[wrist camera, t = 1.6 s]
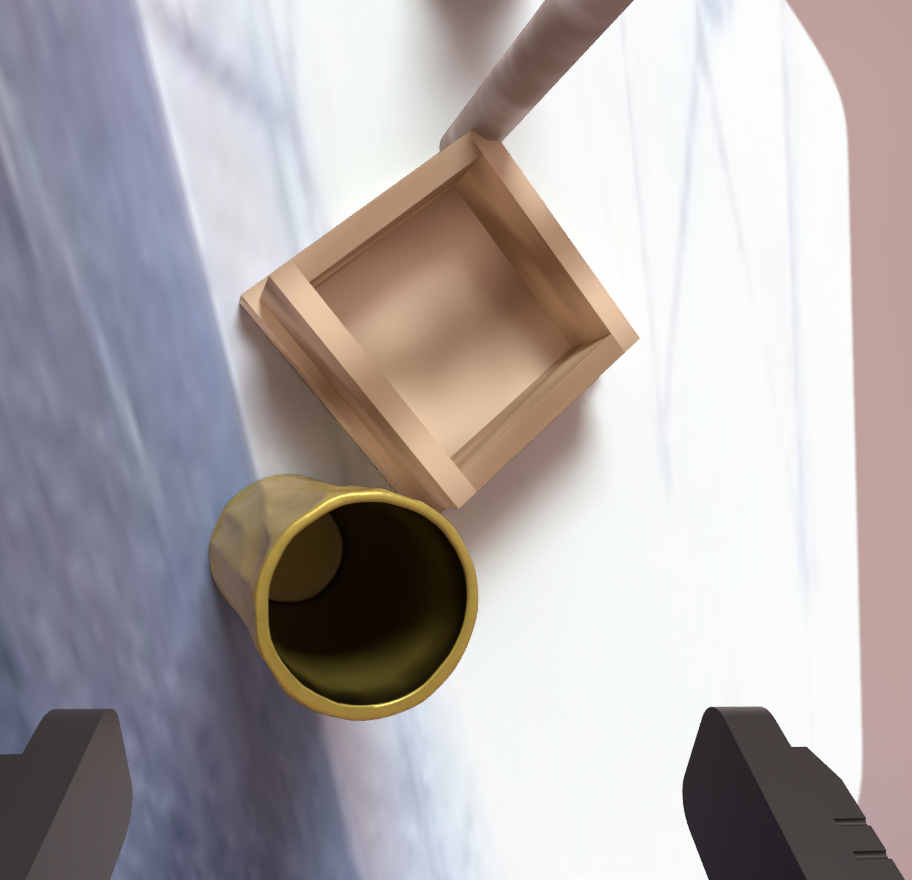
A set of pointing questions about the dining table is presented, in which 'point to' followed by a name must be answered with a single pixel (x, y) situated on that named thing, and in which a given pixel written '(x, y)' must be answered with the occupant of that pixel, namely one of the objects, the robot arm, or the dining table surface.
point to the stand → (454, 293)
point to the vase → (346, 592)
